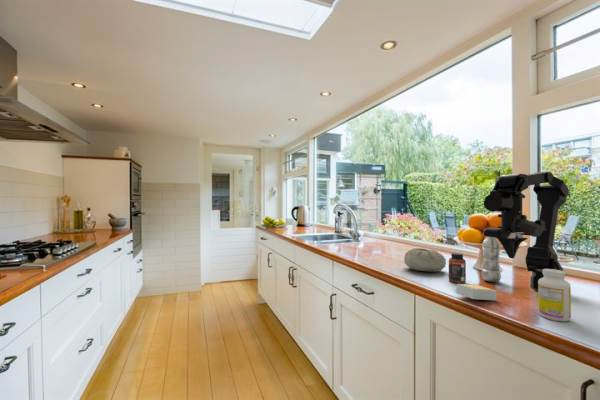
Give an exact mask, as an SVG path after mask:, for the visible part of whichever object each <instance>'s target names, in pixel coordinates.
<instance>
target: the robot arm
mask: <svg viewBox="0 0 600 400" xmlns="http://www.w3.org/2000/svg"><path fill="white" fill-rule="evenodd" d="M547 183H548V184H547ZM530 186H533V189H532V191H534V193H535V195H536V200H537V201H538V203H539V204H540V212H539V219H536V220H535V221H531V220H528V217H527V215H526V214H523V199H525V198H526V195H525V194H523V193H522V192H523V191H526V190H527V189H528V188H529V187H530ZM569 194H570V190H569V187H568V186H567V184H566V183H565V182H564V180H563V179H560V178H558V177H556V176H554V174H553V173H552V172H551V171H538V172H537V171H536V172H535V173H529V174H526V173H514V174H512V173H511V174H503V175H502V174H501V175H500V176H499V177H498V179H497V180H496V182H495V184H494V186H493V188H492V190H490V191H489V194H488V195H486V196H485V198H484V200H483V207H484V208H485V209H486V210H487V211H489V212H492V213H493V212H496V213H497V212H498V214H497V218H500V220H501V221H500V225H498V226H497V227H486V228H484V230H483V237H495V238H497V240H498V241H499V242H500V244H501V247H503V249H504V251H505V252H506V253H505V254H506V255H507V256H508V258H509V259H515V257H516V254H517V252H518V249H519V248H520V245H521V244H522V243H523V242H524V241H527V240H528V239H529V238H528V237H524V236H529V237H530V236H531V237H533V238H535V243H534V244H533V245H532V246H528V247H527V251H526V255H525V265H526V269H527V272H532V273H531V275H530V288H532V289H533V290H534V291H536V292H538V280H539V279H540V278H543V277H544V275H543V273H542V271H543V269H555V270H561V271H564V268H563V267H562V265H561V263H560V262H559V260H558V258H559V257H558V254H557V252H556V251H555V249H554V243H555V242H554V241H555V240H554V239H555V234H556V227H557V223H558V222H557V221H558V216H559V215H558V214H559V209H560V208H561V207H562V206H563V205H564V204H565V203H566V201H567V198H568V196H569ZM499 212H500V213H499Z"/></svg>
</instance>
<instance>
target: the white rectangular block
mask: <svg viewBox="0 0 600 400" xmlns="http://www.w3.org/2000/svg"><path fill="white" fill-rule="evenodd" d="M456 285H457V287H456V294H458V295H461V296H464V297H466V298H469V299H471V300H483V301H497V295H498V294H497V293H498V291H497V290H495V289H492V288H488V287H485V286H482V285H477V284H476V285H475V284H465V283H456Z"/></svg>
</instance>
